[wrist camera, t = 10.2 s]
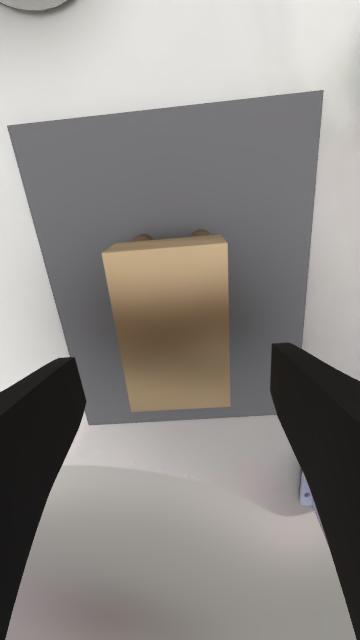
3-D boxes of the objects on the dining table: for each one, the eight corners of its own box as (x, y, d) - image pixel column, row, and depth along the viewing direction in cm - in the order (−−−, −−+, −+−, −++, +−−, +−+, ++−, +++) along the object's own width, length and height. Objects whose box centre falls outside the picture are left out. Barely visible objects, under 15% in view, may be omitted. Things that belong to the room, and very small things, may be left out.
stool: (218, 348, 20) (230, 406, 15) (145, 352, 20) (131, 412, 15) (214, 226, 17) (227, 242, 12) (128, 233, 17) (101, 253, 12)
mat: (293, 409, 23) (296, 413, 22) (90, 420, 24) (88, 425, 23) (319, 93, 15) (323, 90, 14) (12, 127, 16) (7, 125, 15)
